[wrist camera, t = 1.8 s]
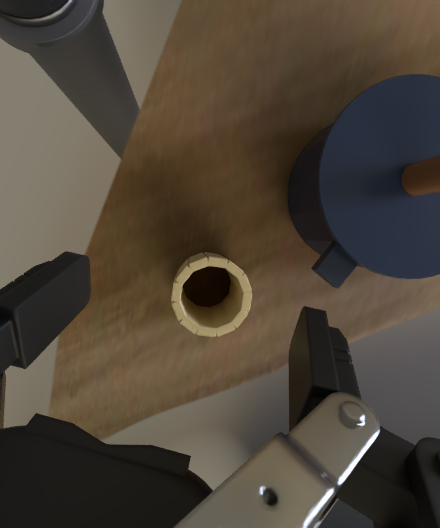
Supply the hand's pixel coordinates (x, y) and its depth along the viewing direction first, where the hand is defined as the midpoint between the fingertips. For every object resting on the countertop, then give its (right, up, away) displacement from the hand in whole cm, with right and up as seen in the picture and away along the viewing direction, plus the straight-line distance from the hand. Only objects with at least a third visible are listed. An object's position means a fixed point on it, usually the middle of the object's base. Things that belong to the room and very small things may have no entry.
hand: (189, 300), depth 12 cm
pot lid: (+15, +8, +12) cm, 21 cm away
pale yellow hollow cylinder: (0, -1, +20) cm, 20 cm away
